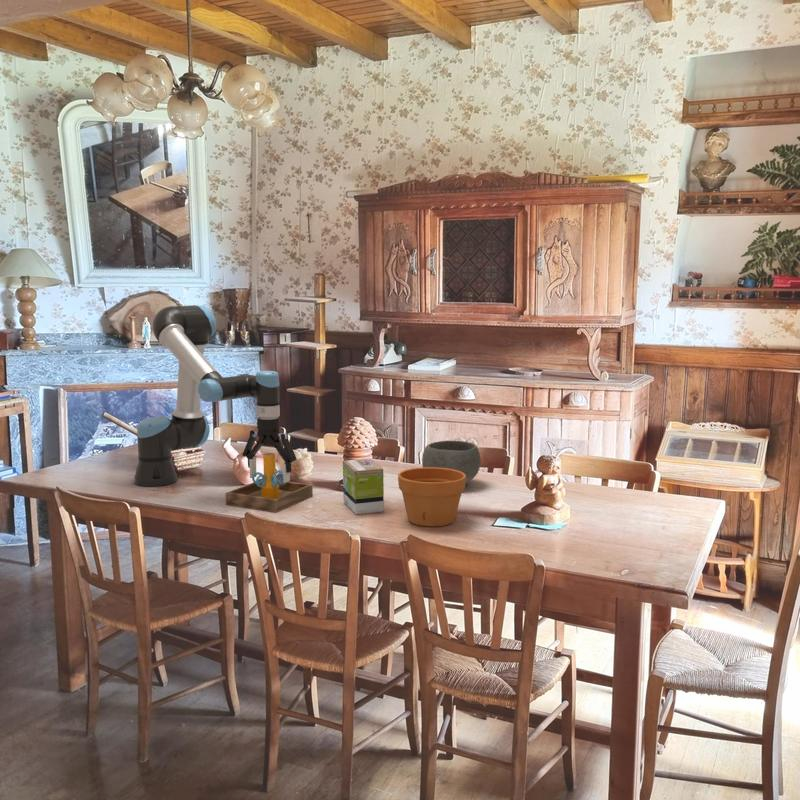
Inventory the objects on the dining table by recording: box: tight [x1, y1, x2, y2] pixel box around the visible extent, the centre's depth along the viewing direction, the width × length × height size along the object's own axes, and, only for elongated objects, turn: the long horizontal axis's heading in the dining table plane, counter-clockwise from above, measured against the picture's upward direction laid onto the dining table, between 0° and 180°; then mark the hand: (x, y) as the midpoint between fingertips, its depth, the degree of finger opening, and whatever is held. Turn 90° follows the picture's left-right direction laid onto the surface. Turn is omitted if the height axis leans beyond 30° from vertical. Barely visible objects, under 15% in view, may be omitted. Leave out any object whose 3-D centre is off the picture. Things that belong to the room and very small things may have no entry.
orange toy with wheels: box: [251, 452, 287, 499], centre depth 282 cm, size 12×10×15 cm
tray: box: [225, 479, 314, 513], centre depth 283 cm, size 20×22×4 cm
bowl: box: [421, 440, 482, 485], centre depth 302 cm, size 21×21×15 cm
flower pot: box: [397, 467, 466, 528], centre depth 260 cm, size 21×21×15 cm
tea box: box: [342, 458, 385, 515], centre depth 274 cm, size 15×10×15 cm, turn 19°
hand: (269, 479), depth 282 cm, fingers open, 13 cm apart
